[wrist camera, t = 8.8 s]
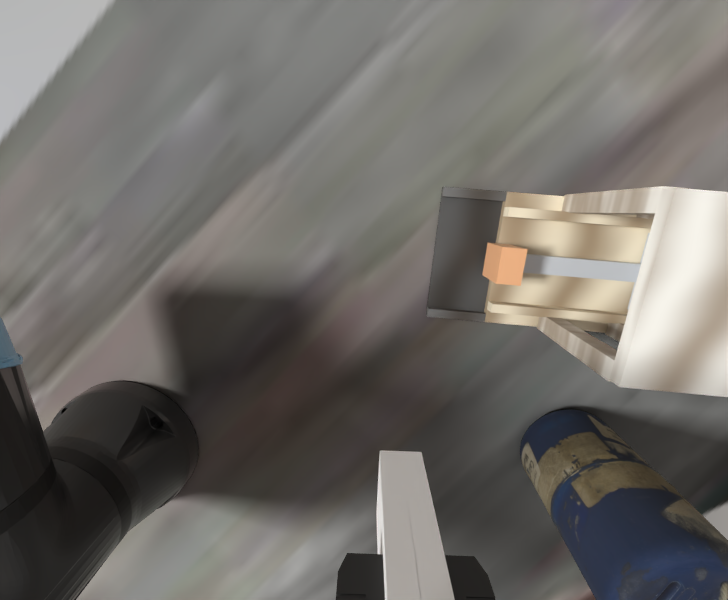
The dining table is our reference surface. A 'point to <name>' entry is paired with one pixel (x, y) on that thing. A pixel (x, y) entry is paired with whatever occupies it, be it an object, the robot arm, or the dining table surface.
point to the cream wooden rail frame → (598, 296)
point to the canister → (621, 514)
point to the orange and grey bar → (552, 266)
